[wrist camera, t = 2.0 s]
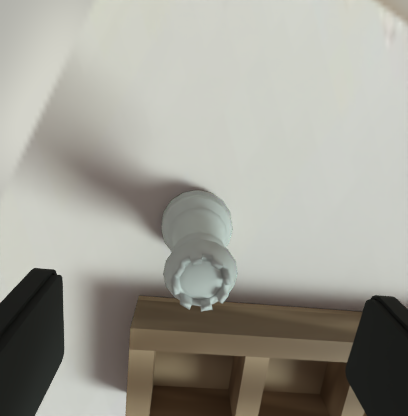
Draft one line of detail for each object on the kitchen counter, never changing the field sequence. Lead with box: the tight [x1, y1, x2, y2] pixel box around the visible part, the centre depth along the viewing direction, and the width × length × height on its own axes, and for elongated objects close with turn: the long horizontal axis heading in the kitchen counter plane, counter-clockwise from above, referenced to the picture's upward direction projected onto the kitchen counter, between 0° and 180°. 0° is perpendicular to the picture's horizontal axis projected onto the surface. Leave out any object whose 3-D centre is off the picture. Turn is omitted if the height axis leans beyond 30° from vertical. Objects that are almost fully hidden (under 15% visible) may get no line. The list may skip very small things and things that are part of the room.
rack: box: [126, 296, 367, 416], centre depth 23 cm, size 9×23×4 cm, turn 84°
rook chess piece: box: [161, 190, 238, 312], centre depth 17 cm, size 4×4×8 cm
